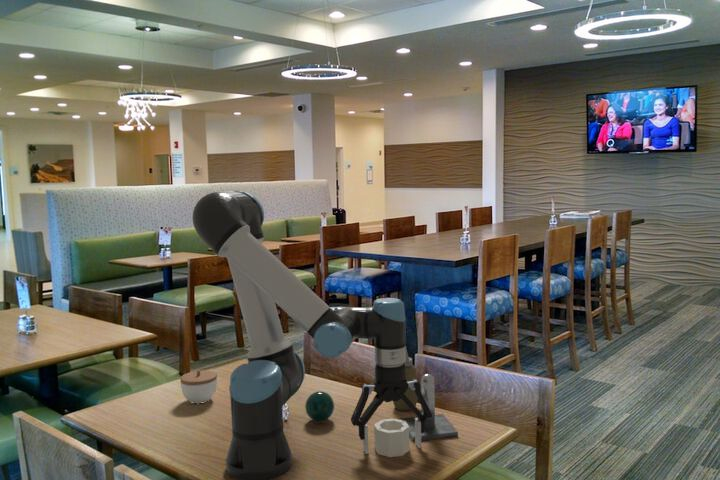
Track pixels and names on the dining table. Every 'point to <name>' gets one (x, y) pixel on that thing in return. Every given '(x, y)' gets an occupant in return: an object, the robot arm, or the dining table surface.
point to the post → (437, 423)
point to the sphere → (319, 406)
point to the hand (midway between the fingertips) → (392, 448)
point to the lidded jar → (199, 385)
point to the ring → (391, 437)
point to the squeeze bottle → (409, 392)
